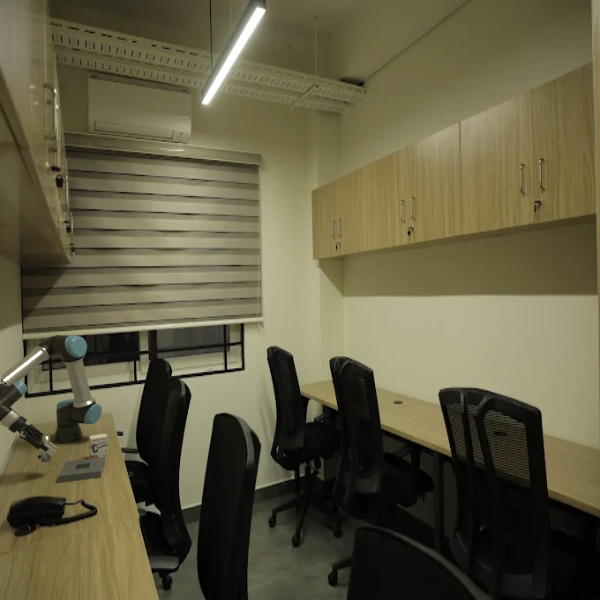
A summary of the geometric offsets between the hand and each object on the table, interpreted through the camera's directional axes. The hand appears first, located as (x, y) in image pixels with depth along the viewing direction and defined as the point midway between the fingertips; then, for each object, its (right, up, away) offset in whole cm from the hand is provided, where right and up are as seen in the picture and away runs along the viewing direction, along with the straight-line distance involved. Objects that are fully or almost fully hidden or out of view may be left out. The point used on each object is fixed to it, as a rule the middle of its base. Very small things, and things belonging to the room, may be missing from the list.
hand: (54, 451), depth 211 cm
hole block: (+12, -11, +3) cm, 17 cm away
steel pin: (-4, -4, -1) cm, 5 cm away
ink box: (+12, -10, +20) cm, 26 cm away
